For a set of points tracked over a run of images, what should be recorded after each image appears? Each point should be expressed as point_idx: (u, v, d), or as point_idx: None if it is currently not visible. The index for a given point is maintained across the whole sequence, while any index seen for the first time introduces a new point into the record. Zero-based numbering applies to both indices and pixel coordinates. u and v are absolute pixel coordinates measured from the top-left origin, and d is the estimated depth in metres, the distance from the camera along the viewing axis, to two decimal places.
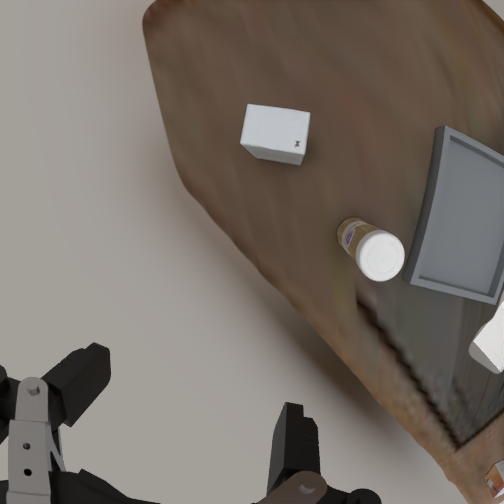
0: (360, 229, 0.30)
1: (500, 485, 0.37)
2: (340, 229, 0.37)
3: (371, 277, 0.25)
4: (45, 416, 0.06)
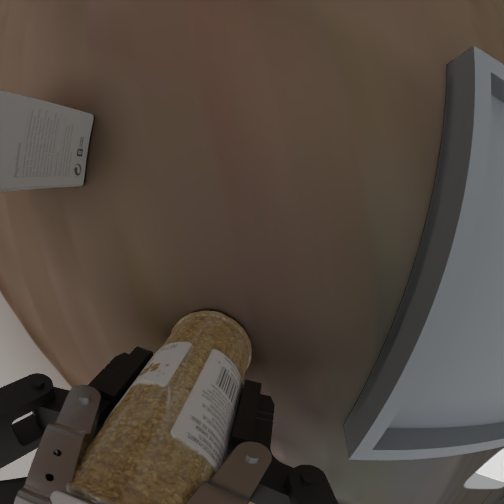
0: (114, 418, 0.07)
1: None
2: None
3: None
4: (89, 427, 0.07)
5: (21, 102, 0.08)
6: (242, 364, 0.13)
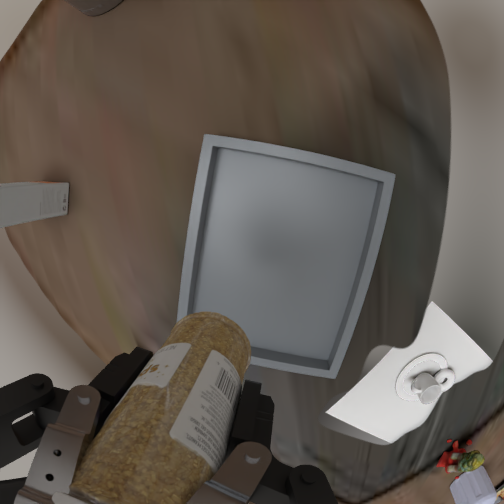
0: (113, 418, 0.07)
1: None
2: None
3: None
4: (89, 427, 0.07)
5: (39, 187, 0.26)
6: (241, 365, 0.13)
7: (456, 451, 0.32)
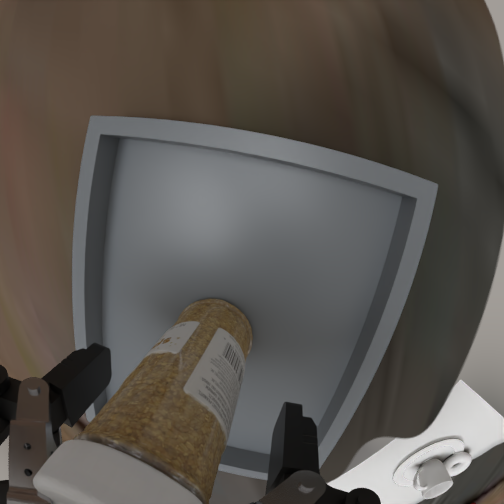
0: (129, 380, 0.08)
1: None
2: None
3: None
4: (46, 416, 0.06)
5: None
6: (244, 345, 0.14)
7: None
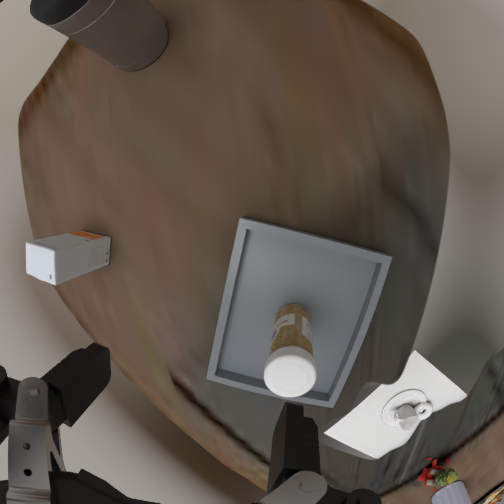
0: (281, 334, 0.28)
1: None
2: (276, 317, 0.35)
3: (277, 394, 0.24)
4: (45, 416, 0.06)
5: (87, 245, 0.33)
6: (309, 323, 0.34)
7: (435, 467, 0.37)
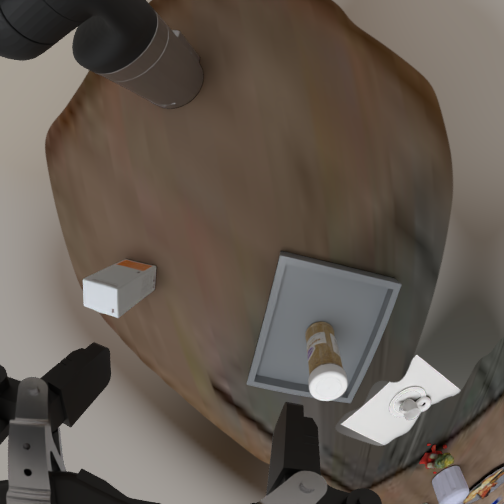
0: (317, 351, 0.35)
1: None
2: (307, 333, 0.42)
3: (318, 399, 0.31)
4: (45, 416, 0.06)
5: (140, 277, 0.40)
6: None
7: (434, 452, 0.46)
